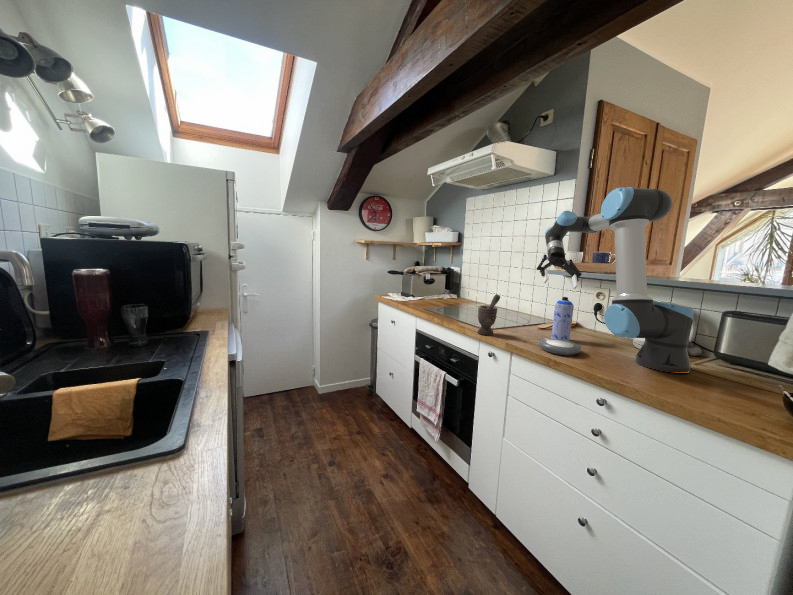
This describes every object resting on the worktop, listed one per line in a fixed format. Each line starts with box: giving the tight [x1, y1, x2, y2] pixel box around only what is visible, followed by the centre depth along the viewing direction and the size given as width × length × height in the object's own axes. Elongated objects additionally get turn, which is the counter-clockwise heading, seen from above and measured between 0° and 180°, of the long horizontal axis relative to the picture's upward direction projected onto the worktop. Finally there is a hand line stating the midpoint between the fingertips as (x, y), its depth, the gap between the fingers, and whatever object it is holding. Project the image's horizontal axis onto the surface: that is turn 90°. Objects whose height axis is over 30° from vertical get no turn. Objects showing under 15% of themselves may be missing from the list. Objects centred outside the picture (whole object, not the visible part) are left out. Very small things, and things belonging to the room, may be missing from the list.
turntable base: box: [542, 347, 577, 357], centre depth 125 cm, size 12×12×1 cm
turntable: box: [538, 337, 582, 354], centre depth 124 cm, size 15×15×2 cm
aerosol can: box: [550, 296, 575, 342], centre depth 140 cm, size 8×8×20 cm
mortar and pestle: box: [476, 294, 501, 336], centre depth 144 cm, size 12×9×20 cm
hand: (560, 284), depth 141 cm, fingers open, 13 cm apart
